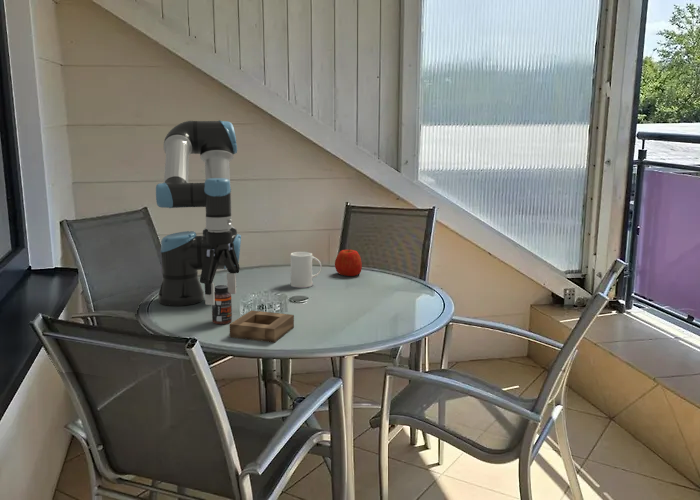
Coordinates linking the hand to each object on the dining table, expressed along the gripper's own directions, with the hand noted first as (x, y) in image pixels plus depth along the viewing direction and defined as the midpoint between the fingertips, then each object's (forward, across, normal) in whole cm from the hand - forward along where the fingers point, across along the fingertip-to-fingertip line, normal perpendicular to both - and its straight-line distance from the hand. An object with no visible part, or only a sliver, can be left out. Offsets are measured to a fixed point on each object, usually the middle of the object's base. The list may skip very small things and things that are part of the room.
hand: (221, 299), depth 198 cm
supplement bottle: (+8, 0, 0) cm, 8 cm away
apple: (+7, +71, -18) cm, 74 cm away
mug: (+7, +50, -8) cm, 52 cm away
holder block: (+8, -4, -16) cm, 18 cm away
